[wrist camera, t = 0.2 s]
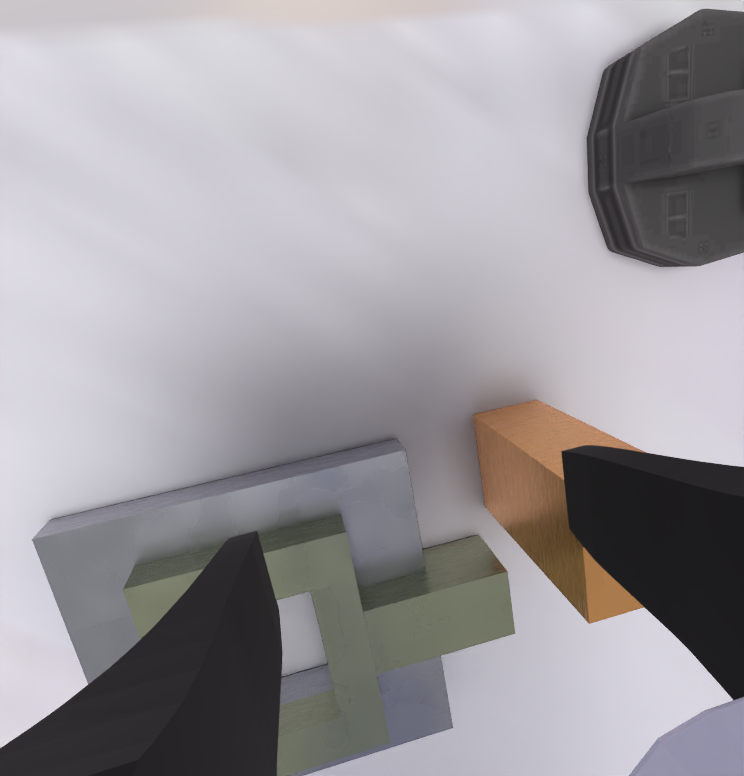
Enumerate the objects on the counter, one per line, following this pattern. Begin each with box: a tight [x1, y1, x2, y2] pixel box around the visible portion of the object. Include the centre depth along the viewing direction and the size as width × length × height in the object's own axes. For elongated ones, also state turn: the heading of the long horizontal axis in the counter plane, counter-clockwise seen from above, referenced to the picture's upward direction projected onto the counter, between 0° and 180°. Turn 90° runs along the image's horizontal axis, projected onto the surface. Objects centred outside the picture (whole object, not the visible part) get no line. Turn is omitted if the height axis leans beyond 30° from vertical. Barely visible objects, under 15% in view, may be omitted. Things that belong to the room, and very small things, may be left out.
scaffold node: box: [32, 439, 515, 776], centre depth 21 cm, size 14×17×4 cm
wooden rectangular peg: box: [473, 400, 646, 624], centre depth 19 cm, size 4×3×8 cm, turn 10°
